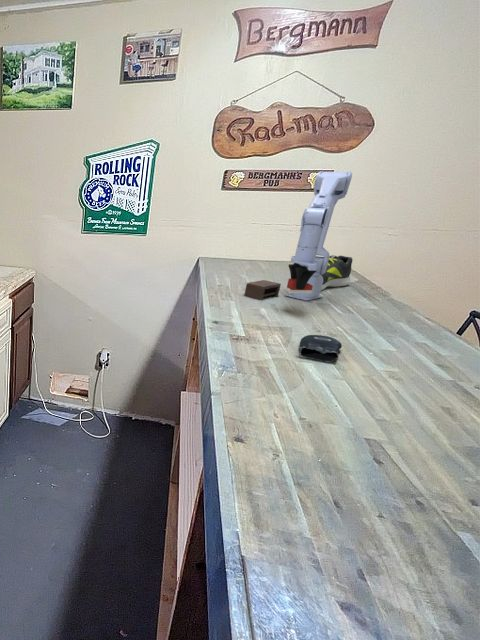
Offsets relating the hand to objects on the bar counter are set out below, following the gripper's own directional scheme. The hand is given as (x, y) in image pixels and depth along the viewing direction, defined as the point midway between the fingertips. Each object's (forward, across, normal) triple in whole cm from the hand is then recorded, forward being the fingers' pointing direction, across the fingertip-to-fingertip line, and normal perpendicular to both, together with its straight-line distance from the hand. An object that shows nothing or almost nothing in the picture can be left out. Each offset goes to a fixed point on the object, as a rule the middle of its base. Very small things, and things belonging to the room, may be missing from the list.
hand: (297, 287), depth 154 cm
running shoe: (+9, +38, -24) cm, 46 cm away
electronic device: (+8, -38, +8) cm, 40 cm away
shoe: (+1, 0, 0) cm, 1 cm away
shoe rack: (+8, +19, +3) cm, 21 cm away
